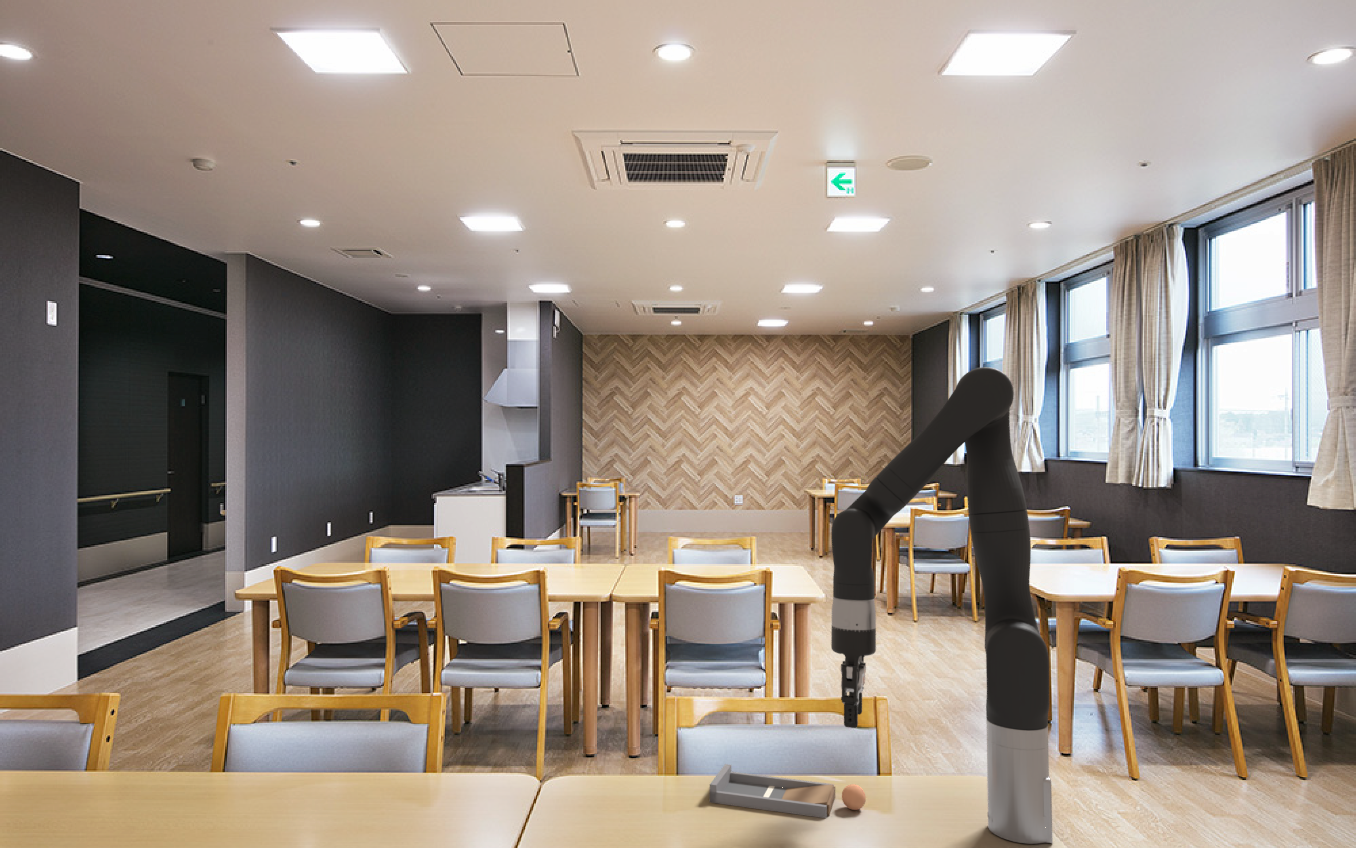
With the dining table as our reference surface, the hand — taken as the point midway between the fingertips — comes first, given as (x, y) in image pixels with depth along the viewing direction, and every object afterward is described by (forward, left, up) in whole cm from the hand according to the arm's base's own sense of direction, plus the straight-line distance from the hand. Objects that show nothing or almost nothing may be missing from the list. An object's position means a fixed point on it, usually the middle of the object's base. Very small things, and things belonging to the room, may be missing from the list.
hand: (853, 720), depth 138 cm
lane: (+14, 0, -15) cm, 20 cm away
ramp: (+8, 0, -15) cm, 17 cm away
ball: (0, 0, -13) cm, 13 cm away
